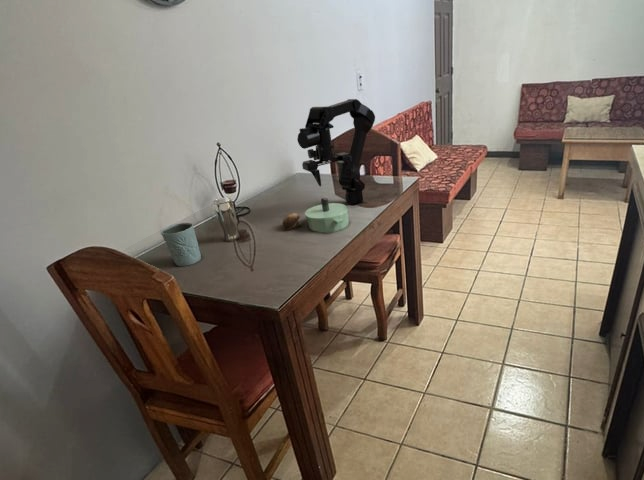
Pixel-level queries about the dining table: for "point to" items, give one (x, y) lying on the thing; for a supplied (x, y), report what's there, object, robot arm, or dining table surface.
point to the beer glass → (227, 218)
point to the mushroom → (291, 221)
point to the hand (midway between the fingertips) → (330, 183)
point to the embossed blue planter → (182, 243)
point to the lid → (326, 210)
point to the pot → (329, 224)
